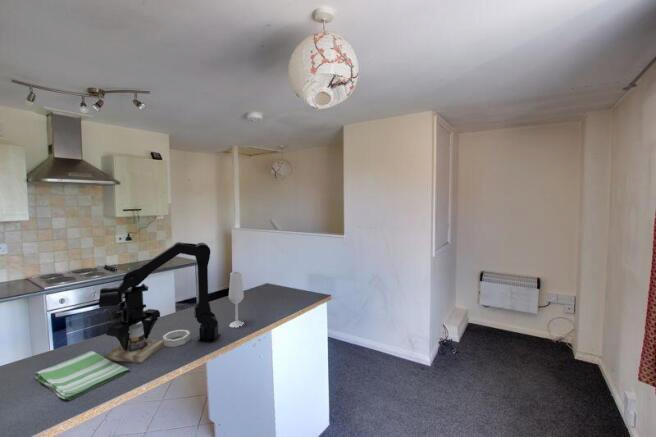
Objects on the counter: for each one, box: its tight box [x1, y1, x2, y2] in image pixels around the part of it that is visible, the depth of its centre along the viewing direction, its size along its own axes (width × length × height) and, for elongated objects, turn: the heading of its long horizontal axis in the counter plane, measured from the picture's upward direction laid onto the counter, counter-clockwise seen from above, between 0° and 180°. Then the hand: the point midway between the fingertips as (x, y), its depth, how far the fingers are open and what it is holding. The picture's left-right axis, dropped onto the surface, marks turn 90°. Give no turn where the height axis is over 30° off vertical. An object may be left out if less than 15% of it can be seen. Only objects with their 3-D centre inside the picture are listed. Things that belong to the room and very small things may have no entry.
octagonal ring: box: [162, 329, 191, 348], centre depth 125 cm, size 10×10×2 cm
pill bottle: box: [127, 324, 145, 352], centre depth 115 cm, size 6×6×10 cm
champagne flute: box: [228, 271, 245, 328], centre depth 141 cm, size 7×7×24 cm
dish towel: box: [34, 350, 131, 401], centre depth 101 cm, size 18×23×3 cm
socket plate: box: [105, 338, 165, 364], centre depth 116 cm, size 14×12×2 cm
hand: (136, 344), depth 115 cm, fingers open, 9 cm apart
